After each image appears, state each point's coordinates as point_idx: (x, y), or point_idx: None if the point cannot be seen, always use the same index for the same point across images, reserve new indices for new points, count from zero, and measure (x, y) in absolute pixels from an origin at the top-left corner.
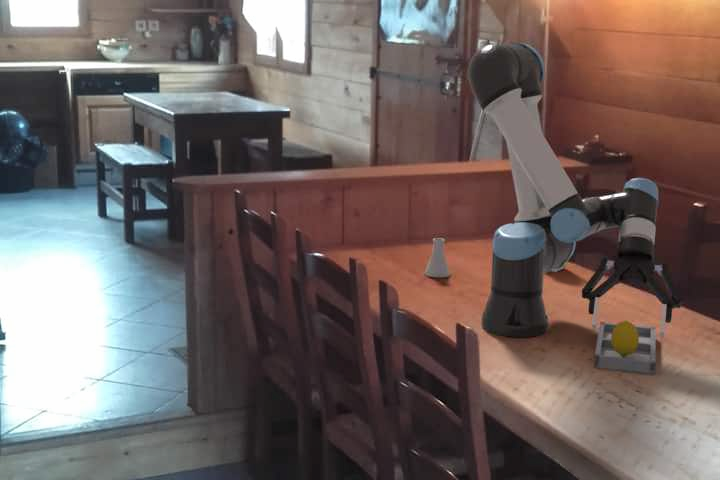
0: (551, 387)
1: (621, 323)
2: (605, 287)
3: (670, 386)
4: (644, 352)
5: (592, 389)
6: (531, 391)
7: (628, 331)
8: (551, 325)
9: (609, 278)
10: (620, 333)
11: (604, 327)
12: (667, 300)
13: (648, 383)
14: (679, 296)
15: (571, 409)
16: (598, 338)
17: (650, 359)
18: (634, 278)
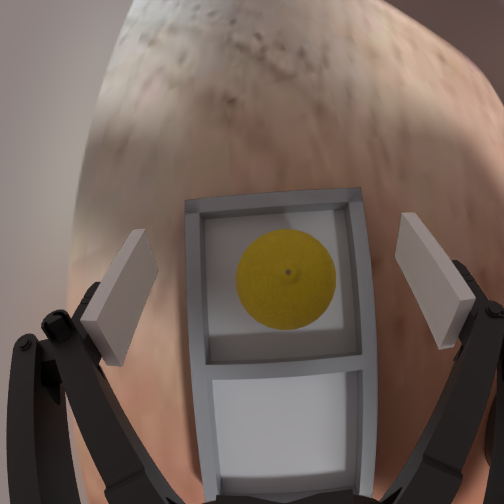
0: (397, 70)
1: (307, 263)
2: (462, 365)
3: (159, 153)
4: (226, 352)
5: (324, 79)
6: (416, 52)
7: (272, 235)
8: (474, 468)
9: (469, 434)
10: (302, 232)
11: (356, 490)
12: (69, 343)
13: (208, 149)
14: (14, 361)
15: (333, 11)
16: (374, 358)
17: (199, 222)
18: (269, 501)
